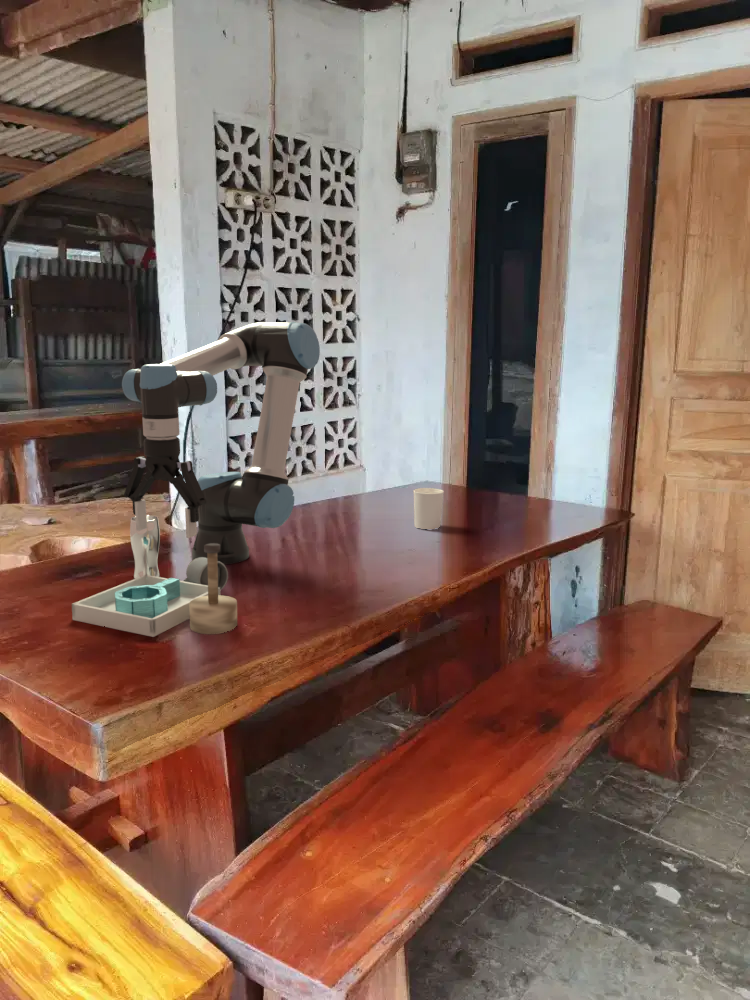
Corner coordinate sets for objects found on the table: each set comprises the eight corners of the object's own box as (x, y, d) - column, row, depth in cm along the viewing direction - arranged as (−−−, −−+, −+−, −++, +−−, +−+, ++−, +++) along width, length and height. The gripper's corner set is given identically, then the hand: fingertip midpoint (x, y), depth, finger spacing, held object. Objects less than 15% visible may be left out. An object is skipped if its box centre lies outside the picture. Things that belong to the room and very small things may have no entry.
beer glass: (167, 575, 192) (165, 517, 189) (146, 582, 186) (143, 522, 183) (147, 571, 195) (145, 513, 192) (125, 577, 189) (123, 518, 186)
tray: (145, 588, 182) (145, 574, 181) (220, 602, 173) (220, 587, 173) (72, 619, 161) (71, 603, 160) (153, 636, 153) (152, 620, 152)
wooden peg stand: (208, 614, 166) (206, 537, 162) (246, 621, 162) (245, 542, 158) (180, 629, 157) (177, 548, 154) (219, 637, 153) (218, 554, 150)
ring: (144, 622, 158) (144, 604, 157) (105, 614, 162) (104, 596, 161) (194, 598, 173) (194, 581, 172) (157, 591, 177) (156, 575, 176)
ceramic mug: (211, 581, 188) (210, 551, 186) (229, 590, 182) (228, 558, 180) (171, 590, 181) (170, 559, 180) (188, 600, 175) (187, 567, 174)
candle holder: (441, 531, 243) (442, 494, 240) (410, 529, 244) (411, 492, 242) (443, 524, 252) (445, 488, 250) (413, 522, 254) (415, 487, 251)
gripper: (103, 435, 166) (110, 530, 171) (199, 443, 157) (202, 543, 162) (127, 431, 173) (133, 522, 178) (220, 438, 164) (223, 535, 168)
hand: (166, 532), depth 170 cm, fingers open, 13 cm apart
